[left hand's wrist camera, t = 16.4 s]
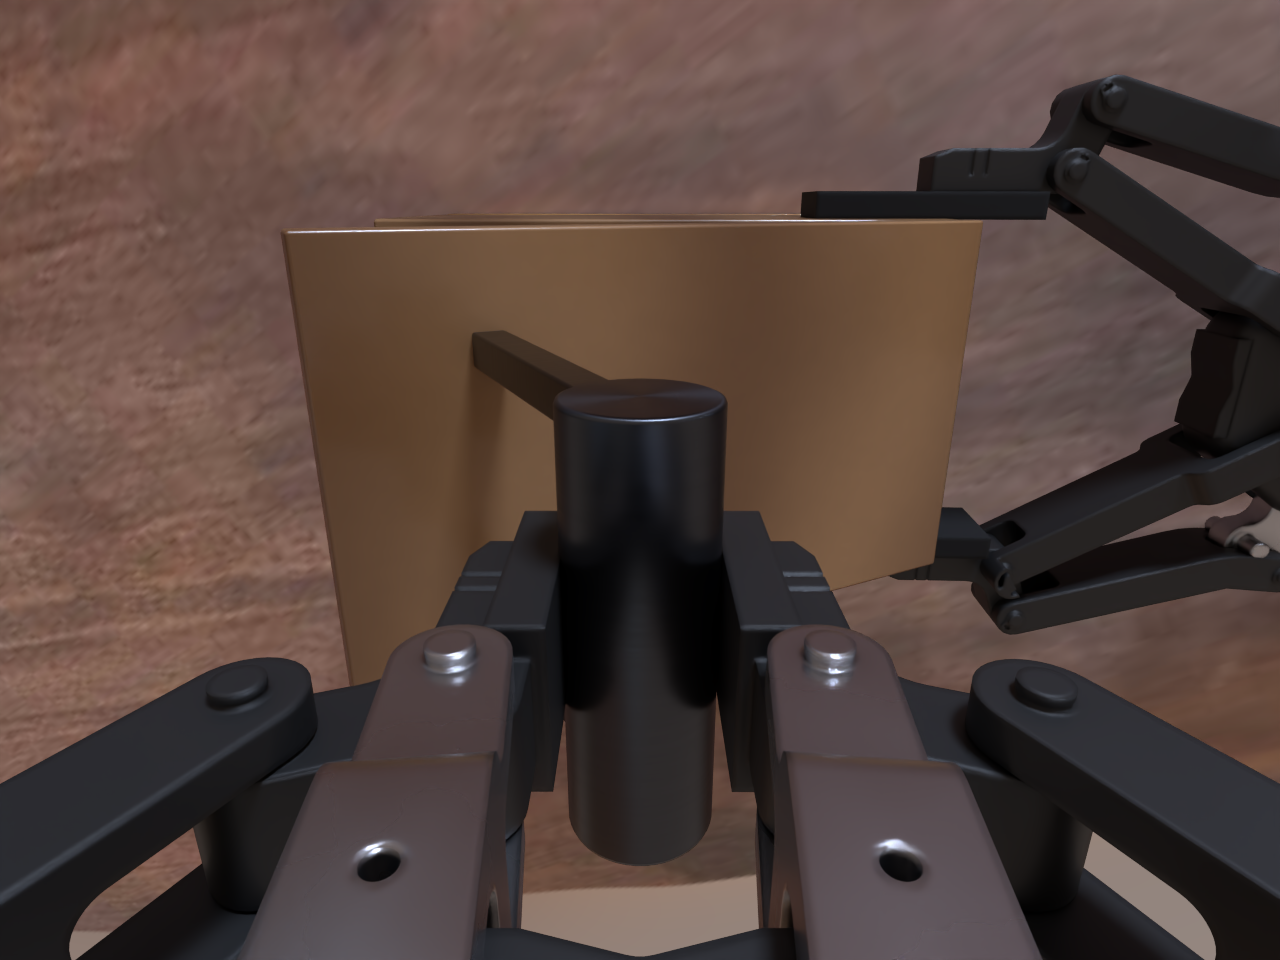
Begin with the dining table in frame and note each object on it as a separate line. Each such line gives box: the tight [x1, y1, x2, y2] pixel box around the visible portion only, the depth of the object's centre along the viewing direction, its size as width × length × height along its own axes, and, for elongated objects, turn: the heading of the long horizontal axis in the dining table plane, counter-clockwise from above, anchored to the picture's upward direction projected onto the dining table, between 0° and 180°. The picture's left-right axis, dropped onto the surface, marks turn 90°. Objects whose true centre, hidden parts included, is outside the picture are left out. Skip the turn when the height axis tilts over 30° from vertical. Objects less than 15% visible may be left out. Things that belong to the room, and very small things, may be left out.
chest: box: [374, 214, 955, 227], centre depth 27 cm, size 16×10×9 cm, turn 90°
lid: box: [281, 220, 983, 866], centre depth 15 cm, size 17×10×9 cm, turn 91°
